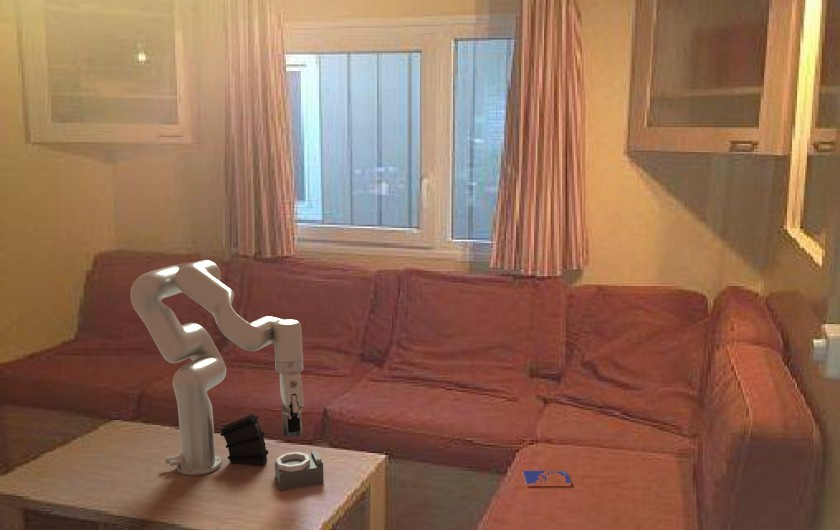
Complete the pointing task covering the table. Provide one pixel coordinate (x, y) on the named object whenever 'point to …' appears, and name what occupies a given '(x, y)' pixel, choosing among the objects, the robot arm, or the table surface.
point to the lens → (285, 422)
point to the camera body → (298, 470)
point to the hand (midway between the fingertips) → (292, 427)
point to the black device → (245, 441)
